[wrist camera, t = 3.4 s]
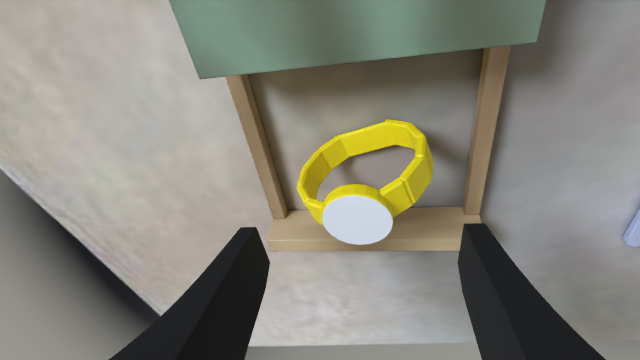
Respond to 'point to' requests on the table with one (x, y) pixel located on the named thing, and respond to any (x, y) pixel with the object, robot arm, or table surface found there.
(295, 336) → the table surface
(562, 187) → the table surface
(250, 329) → the robot arm
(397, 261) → the table surface
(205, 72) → the step shelf
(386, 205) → the watch
